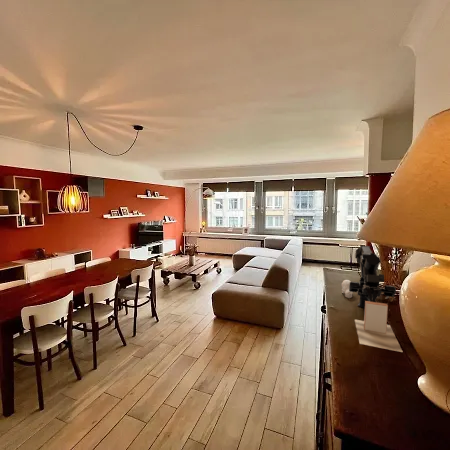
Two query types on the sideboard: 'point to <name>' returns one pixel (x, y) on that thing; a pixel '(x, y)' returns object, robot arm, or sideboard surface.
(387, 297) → the lion figurine
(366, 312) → the tile
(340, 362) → the sideboard surface
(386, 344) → the board
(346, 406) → the sideboard surface
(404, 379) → the sideboard surface
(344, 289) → the white rounded lump
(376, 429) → the sideboard surface
